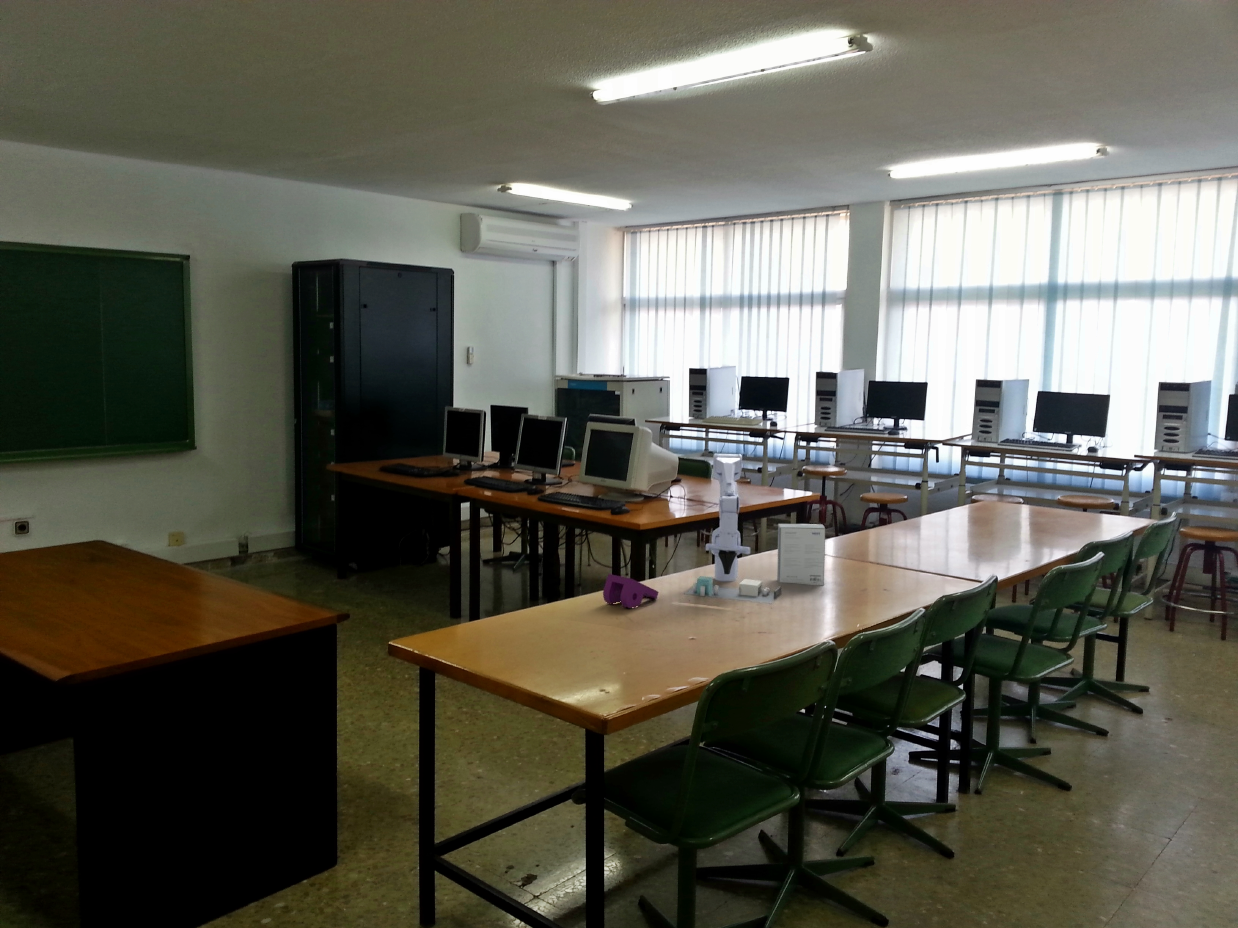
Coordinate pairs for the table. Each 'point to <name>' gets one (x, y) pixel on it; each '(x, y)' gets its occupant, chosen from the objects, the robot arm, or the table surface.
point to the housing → (750, 587)
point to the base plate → (737, 594)
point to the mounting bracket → (626, 591)
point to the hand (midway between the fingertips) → (727, 573)
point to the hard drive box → (801, 553)
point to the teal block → (705, 584)
